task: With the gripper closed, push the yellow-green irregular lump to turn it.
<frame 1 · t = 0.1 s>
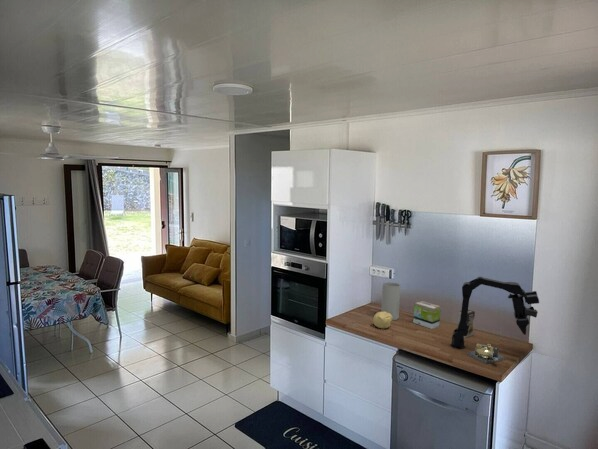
hand: (524, 331, 230), 15 cm above the countertop, tool pointing down, fingers open, 9 cm apart
yellow-green irregular lump: (488, 349, 227), point 6 cm above the countertop, hinge at 0.0°
tea box: (426, 325, 283), on the countertop
mounting plate: (485, 357, 231), on the countertop
cylinder vase: (389, 318, 295), on the countertop
coffee box: (465, 335, 265), on the countertop
yellow crumpled ball: (382, 327, 276), on the countertop
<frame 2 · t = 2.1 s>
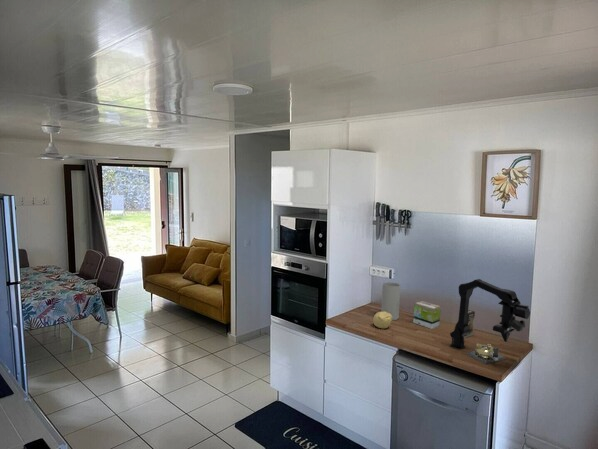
hand: (505, 341, 221), 13 cm above the countertop, tool pointing down, fingers closed
nothing on the countertop moved.
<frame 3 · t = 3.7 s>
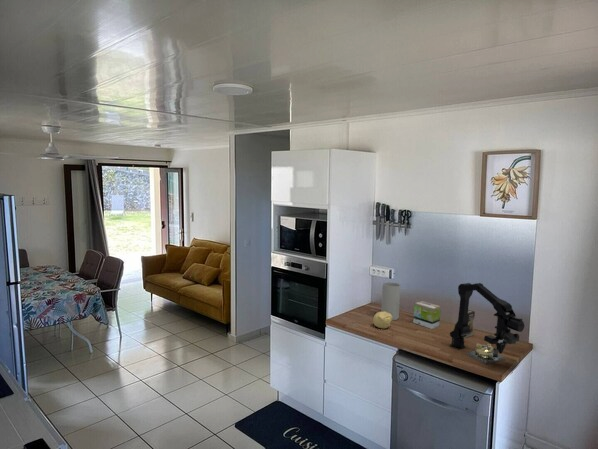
hand: (500, 353, 221), 6 cm above the countertop, tool pointing down, fingers closed
yellow-green irregular lump: (488, 349, 227), point 6 cm above the countertop, hinge at 0.0°, touching gripper
everything else where it was.
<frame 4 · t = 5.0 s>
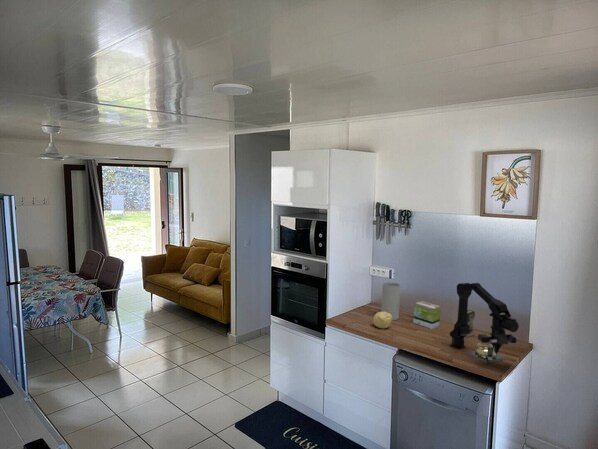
hand: (496, 353, 220), 7 cm above the countertop, tool pointing down, fingers closed
yellow-green irregular lump: (487, 349, 227), point 6 cm above the countertop, hinge at 15.5°, touching gripper
everything else where it was.
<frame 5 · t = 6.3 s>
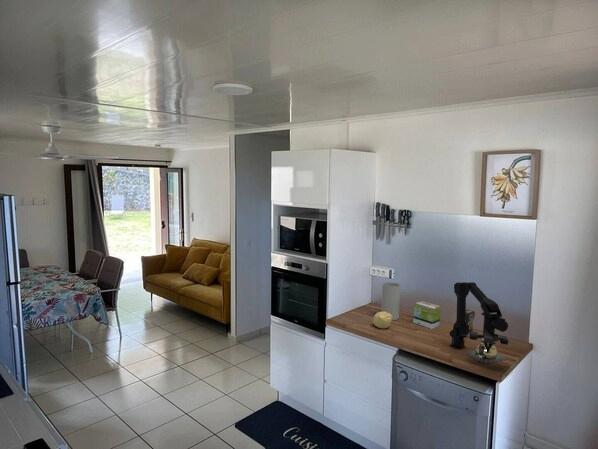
hand: (487, 352, 221), 7 cm above the countertop, tool pointing down, fingers closed
yellow-green irregular lump: (484, 349, 228), point 6 cm above the countertop, hinge at 39.7°, touching gripper
everything else where it was.
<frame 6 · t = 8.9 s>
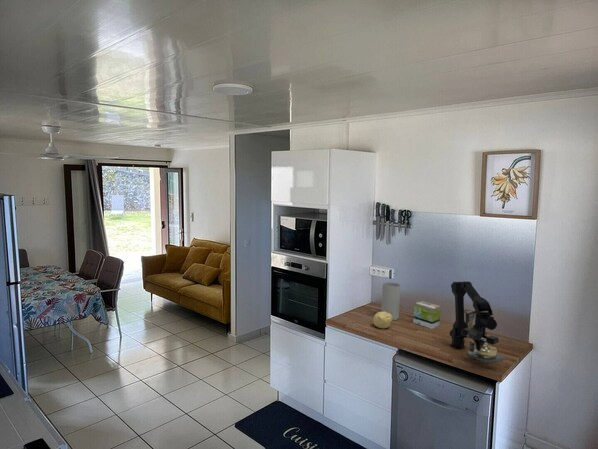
hand: (478, 350, 223), 7 cm above the countertop, tool pointing down, fingers closed
yellow-green irregular lump: (481, 348, 229), point 6 cm above the countertop, hinge at 71.1°
everything else where it was.
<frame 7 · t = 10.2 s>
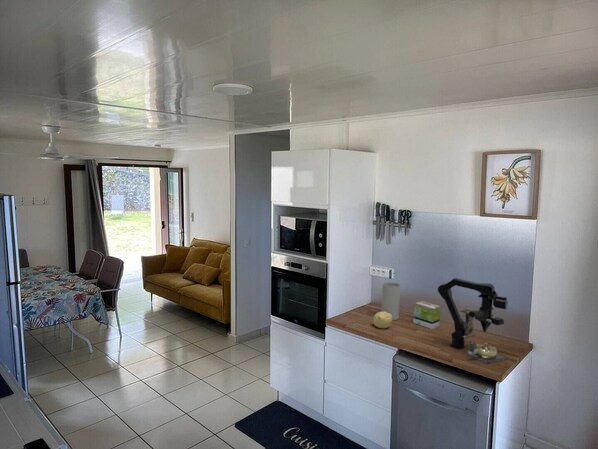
hand: (484, 331, 235), 13 cm above the countertop, tool pointing down, fingers closed
nothing on the countertop moved.
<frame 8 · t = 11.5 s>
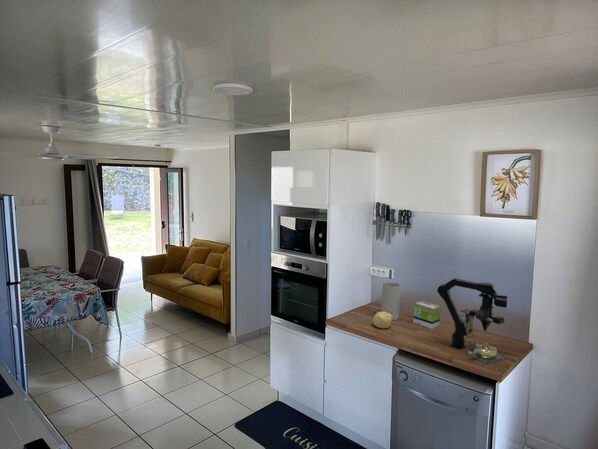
hand: (485, 330, 237), 13 cm above the countertop, tool pointing down, fingers closed
nothing on the countertop moved.
at the end: yellow-green irregular lump at +71° (first picture: +0°) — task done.
